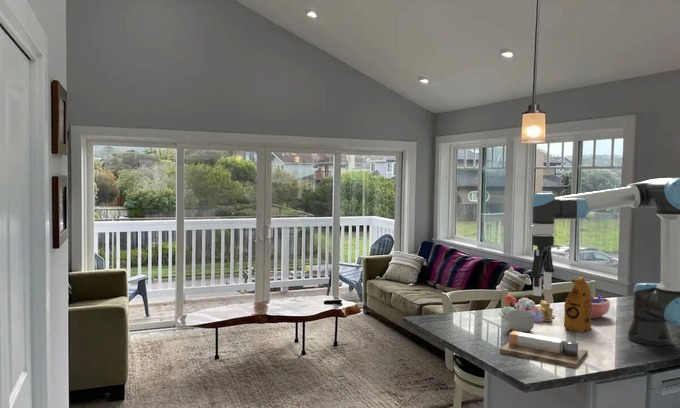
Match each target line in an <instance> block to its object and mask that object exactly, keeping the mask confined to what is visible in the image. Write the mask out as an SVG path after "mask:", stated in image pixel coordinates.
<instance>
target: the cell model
mask: <svg viewBox="0 0 680 408" xmlns="http://www.w3.org/2000/svg"><path fill="white" fill-rule="evenodd" d="M591 304H592V309H591V319H596V318H601V317H602V316H604V315H607V314H608V312H609V311H610V307H611V306H610V305H611V301H610V300H609V299H608V298H606V297H605V298H604V297H603V296H601V295H598V296H594V295H593V296H592V295H591Z"/></svg>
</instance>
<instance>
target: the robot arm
mask: <svg viewBox="0 0 680 408" xmlns="http://www.w3.org/2000/svg"><path fill="white" fill-rule="evenodd" d="M531 202H532V204H531V207H532V209H531V210H532V215H531V216H532V219H531V222H532V225H530V228H531V229H532V230H531V231H532V233H531V234H532V236H531V245H532V246H534V247H537V248H536V249H534V250H533V260H532V267H531V274H530V278H532V296H537V297H542V285H543V290H549V291H551V290H552V285H553V283H552V277H553V276H552V273H554V272H555V269H554V263H553V255H552V247H554V245H555V236H554V234H555V220H558V219H559V220H560V219H561V220H562V219H564V220H566V219H567V220H570V219H571V220H574V219H575V220H578V219H580V220H582V219H586V217H587V216H588V214H589V212H596V211H597V212H598V211H605V210H610V209H619V208H624V207H630V208H631V209H632V208H633V209H637V208H652V209H655V215H656V216H657V217H659V218H660V282H659V283H658V282H639V283H638V282H637V283H635V285H634V288H633V314H632V315H633V317H632V318H633V319H632V322H631V324H630V327H629V328H628V330H627V338H628V340H631V341H633V342H635V343H639V344H643V345H647V346H654V345H655V346H656V347H665V346H664V345H668V346H671V345H672V344H673V337H672V334H671V330H670V328H669V325H668V324H670V325H673V326H678V327H680V177H666V178H665V177H664V178H663V177H659V178H652V179H648V180H644V181H640V182H635V183H629V184H627V185H626V187H624V186H623V187H620V188H618V187H616V188H612V189H604V190H597V191H591V192H584V193H577V194H569V195H563V196H562V195H561V196H556V197H555V193H553V192H552V193H551V192H549V193H546V192H537V193H534V194H533V195H532V201H531ZM543 270H544V271H543ZM542 273H543V278H542ZM542 281H543V284H542ZM670 344H671V345H670ZM655 346H654V347H655Z"/></svg>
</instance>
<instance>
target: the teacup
mask: <svg viewBox="0 0 680 408" xmlns="http://www.w3.org/2000/svg"><path fill="white" fill-rule="evenodd" d="M507 316H508V318H507V325H508V327H509V329H510V330H512V331H517V332H522V333H529V332H530V331H532V330H533V328H534V325H535V322H534V313H533V312H531V311H527V310H517V309H513V310H511V311H508V312H507Z"/></svg>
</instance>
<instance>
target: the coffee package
mask: <svg viewBox="0 0 680 408" xmlns="http://www.w3.org/2000/svg"><path fill="white" fill-rule="evenodd" d="M570 282H571V283H573V284H574V285H573V286H572V288H571V291H570V292H569V293H568V294H567V297H565V300H564V301H565V302H564V309H563V310H564V317H563V318H564V319H563V320H564V321H563V326H564V328H565V330H570V331H573V332H578V333H585V331H589V330H590V329H591V328H592V318H591V309H592V304H591V296H592V294H591V290H590V288H589V286H588V284H587V281H586V280H585V278H584V276H582V275H581V276H579V277H578V278H576V279H575V278H573V279H572V280H571V281H570Z"/></svg>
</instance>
